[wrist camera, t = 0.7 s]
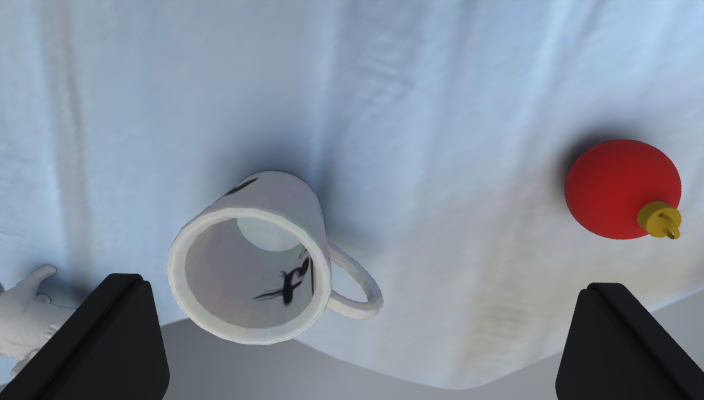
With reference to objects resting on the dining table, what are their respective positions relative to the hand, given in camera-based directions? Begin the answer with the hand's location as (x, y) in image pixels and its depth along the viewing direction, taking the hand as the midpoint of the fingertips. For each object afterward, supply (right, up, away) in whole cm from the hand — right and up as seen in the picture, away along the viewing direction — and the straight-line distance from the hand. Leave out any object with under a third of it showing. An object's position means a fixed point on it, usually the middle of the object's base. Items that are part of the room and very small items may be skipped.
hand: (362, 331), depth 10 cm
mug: (-5, +1, +28) cm, 28 cm away
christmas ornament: (+19, +5, +25) cm, 32 cm away
